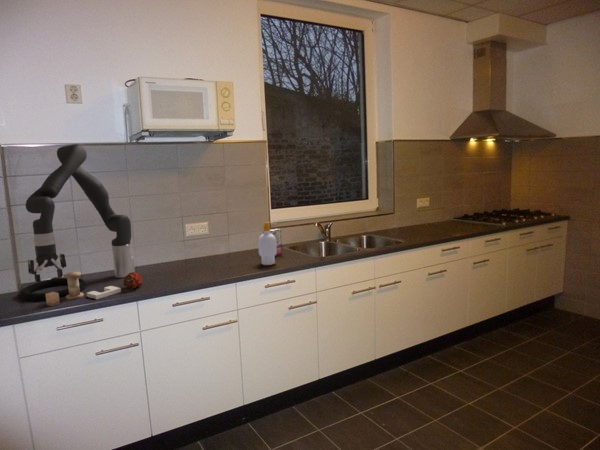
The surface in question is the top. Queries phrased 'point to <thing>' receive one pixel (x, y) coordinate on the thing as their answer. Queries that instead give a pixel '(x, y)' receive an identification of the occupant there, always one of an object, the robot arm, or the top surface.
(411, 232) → the top surface
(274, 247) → the soap bottle
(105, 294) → the notch board
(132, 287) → the dragon fruit
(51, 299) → the brown wooden block
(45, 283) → the cable lock
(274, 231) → the candy bar box
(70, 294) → the bobbin
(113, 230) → the robot arm
